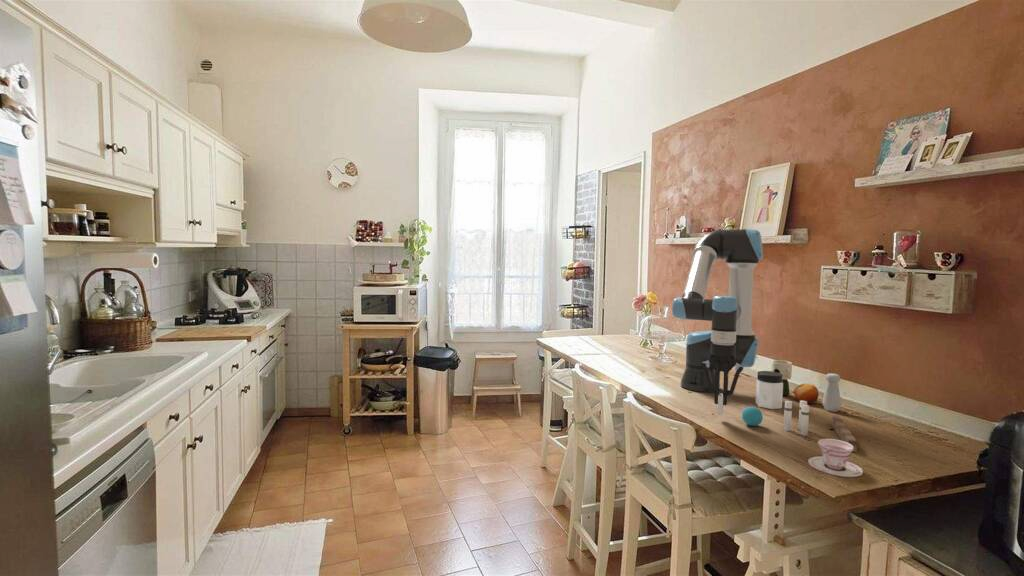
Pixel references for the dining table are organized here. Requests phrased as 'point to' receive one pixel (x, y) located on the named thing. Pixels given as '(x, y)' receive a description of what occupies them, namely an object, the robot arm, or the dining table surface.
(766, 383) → the jar
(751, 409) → the teal ball
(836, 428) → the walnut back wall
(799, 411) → the pin
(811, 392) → the fruit
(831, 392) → the salt shaker
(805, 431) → the pin
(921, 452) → the dining table surface
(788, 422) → the front pin
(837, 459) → the teacup
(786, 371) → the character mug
